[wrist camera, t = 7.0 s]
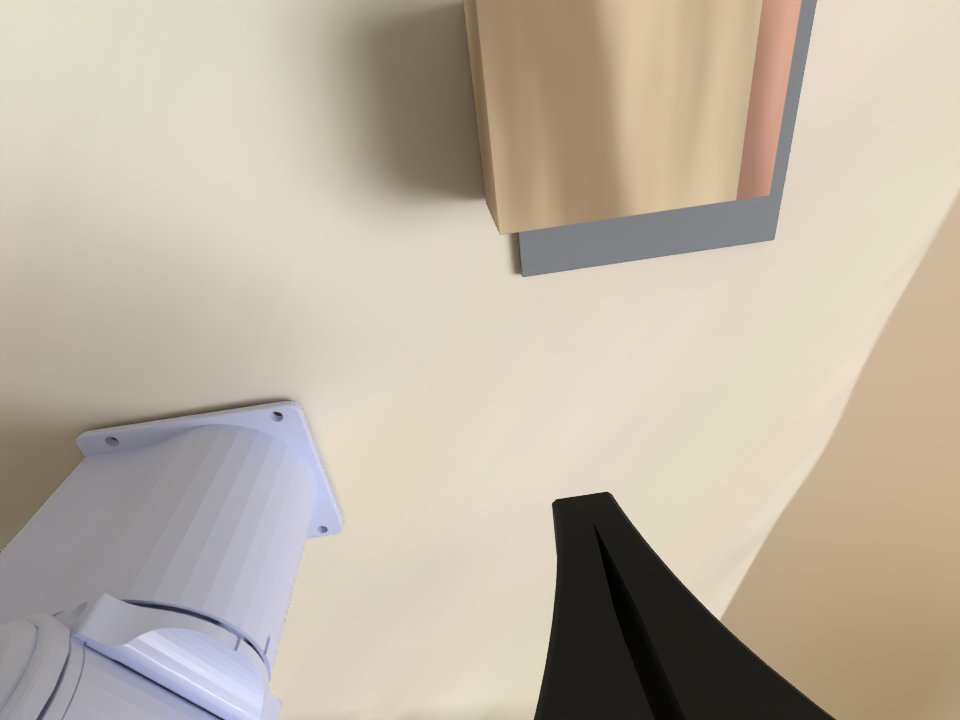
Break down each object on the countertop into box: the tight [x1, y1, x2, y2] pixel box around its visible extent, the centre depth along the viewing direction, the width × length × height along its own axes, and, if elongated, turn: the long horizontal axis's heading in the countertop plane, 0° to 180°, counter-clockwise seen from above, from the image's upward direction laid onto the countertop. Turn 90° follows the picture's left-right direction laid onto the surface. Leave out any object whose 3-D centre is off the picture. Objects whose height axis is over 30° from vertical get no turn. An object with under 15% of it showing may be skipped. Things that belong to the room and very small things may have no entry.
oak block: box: [463, 0, 802, 235], centre depth 15 cm, size 4×6×8 cm
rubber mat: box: [518, 0, 817, 277], centre depth 17 cm, size 10×12×1 cm
